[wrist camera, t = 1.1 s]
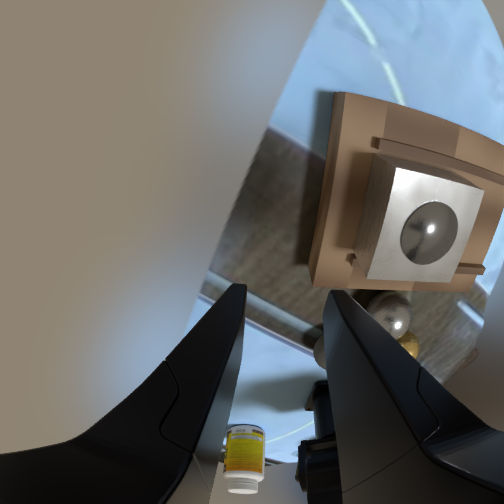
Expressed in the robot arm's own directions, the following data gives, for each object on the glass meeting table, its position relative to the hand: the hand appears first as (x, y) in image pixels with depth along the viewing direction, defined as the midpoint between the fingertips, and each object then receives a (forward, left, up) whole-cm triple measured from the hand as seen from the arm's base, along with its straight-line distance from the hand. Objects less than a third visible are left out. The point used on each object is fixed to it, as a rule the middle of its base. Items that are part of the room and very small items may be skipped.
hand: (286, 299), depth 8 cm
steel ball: (-9, -10, -9) cm, 16 cm away
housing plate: (0, -10, -11) cm, 15 cm away
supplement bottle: (-36, 0, -11) cm, 38 cm away
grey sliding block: (0, -8, -8) cm, 12 cm away
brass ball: (-13, -13, -9) cm, 21 cm away
